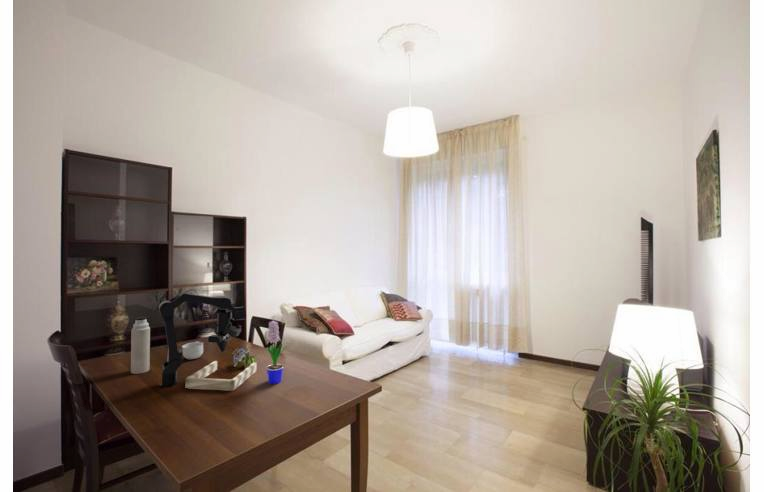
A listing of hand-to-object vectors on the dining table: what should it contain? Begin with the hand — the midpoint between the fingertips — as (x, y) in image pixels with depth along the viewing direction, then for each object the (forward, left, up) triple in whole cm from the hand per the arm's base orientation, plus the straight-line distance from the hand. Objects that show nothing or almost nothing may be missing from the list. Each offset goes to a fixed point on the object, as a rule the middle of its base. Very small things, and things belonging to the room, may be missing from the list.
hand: (222, 351), depth 175 cm
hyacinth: (-6, -31, -12) cm, 34 cm away
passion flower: (+13, -5, -12) cm, 18 cm away
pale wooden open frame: (-6, -4, -12) cm, 14 cm away
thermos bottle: (0, +44, -12) cm, 46 cm away
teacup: (+24, +30, -12) cm, 40 cm away
